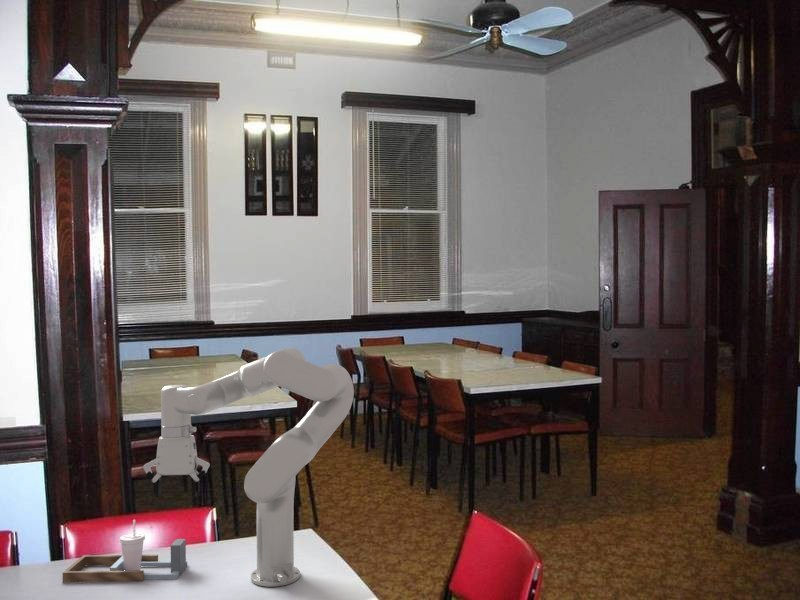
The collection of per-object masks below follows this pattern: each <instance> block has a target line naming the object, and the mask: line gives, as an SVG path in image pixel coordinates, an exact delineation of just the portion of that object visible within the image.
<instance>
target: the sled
mask: <svg viewBox="0 0 800 600" xmlns="http://www.w3.org/2000/svg"><path fill="white" fill-rule="evenodd" d="M186 540H187V539H185V538H176V539H175V540H174V541H173V542H172V543H171V544H170V560H167V561H166V560H164V561H163V560H161V561H160V560H158V561H141V566H158V567H157V568H161V567H160V566H166V567H165V568H170V572H148V573H147V572H144V580H177V579H179V577H180V576H182V574H183V573H184V572H185V570H186V569H187V566H188V561H187V554H186V553H187V547H186V546H187V542H186ZM124 570H125V568H124V561H123V556H122V557H121V558H120V559H119V560H117V561H116V562H115V563H114V564H113V565H110V567H109V571H124Z"/></svg>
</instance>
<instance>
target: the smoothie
mask: <svg viewBox="0 0 800 600" xmlns="http://www.w3.org/2000/svg"><path fill="white" fill-rule="evenodd" d="M145 539H146V535H145V534H144V533H141V532H136V519H133V520H132V532H131V533H130V532H128V533H126V534H123V535H121V536H120V537H119V543H120V546H121V552H122V554H121V555H123V561H124V568H125V571H140V570H141V568H142V567H141V558H142V555H143V549H144V541H145Z"/></svg>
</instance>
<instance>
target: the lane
mask: <svg viewBox="0 0 800 600" xmlns="http://www.w3.org/2000/svg"><path fill="white" fill-rule="evenodd" d="M122 556H123V554H108V555H107V554H95V555H91V554H85V555H84V554H83V555H82V556H81V557H79V558H78V559H77V560H76V561H74V563H72V564H70V566H69V567H67V568H66V569H65V570H64V571H62V583H120V582H121V583H127V582H131V583H132V582H135V583H136V582H138V583H139V582H142V583H143V581H145V579H144V573H145V572H144V569H143V570H141V569H140V571H110V570H83V569H84V568H85V567H86V566H85V565H106V566H112V565H113V564H114V563H115V562H116V561H117V560H119V559H120V558H121V557H122ZM141 561H159V554H142V558H141ZM84 566H85V567H84Z"/></svg>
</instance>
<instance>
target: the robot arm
mask: <svg viewBox="0 0 800 600" xmlns="http://www.w3.org/2000/svg"><path fill="white" fill-rule="evenodd" d="M278 387H279V388H283V389H284V390H287V391H289V392H291V393H295V394H296V395H299V396H302V397H304V398H306V399H309V400H312V401H315V402H316V403H315V404H313V406H312V407H310V409H309V410H308V411H307V412H306V414H305V415H304V416H303V417H302V419H301V420H300V421H299V422H298V423H297V424H296V425H295V426H294V427H293V428H291V429H290V430H288V431H286V432H284V433H283V434H281V435H279V436H278V438H276V440H274V442H272V444H271V445H270V446H268V447H267V449H266V450H265V451H264V453H263V454H262V455H261V456H260V457H259V458H258V460H257V461H256V462H255V463H254V464H253V466H252V467H250V469H249V470H248V472H247V473H246V475H245V477H244V480H243V481H244V482H243V487H244V488H243V489H244V492H245V495H246V496H247V497H248V499H250V500H251V501H253V502H254V503H256V569H255V570H253V571H252V572H251V574H250V581H251V582H252V583H253V584H255V585H256V586H261V587H270V588H273V587H275V588H276V587H283V586H287V585H290V584H292V583H294V582H296V581H298V580H299V579H300V576H301V571H300V569H299V568H297V567H296V566H295V564H294V563H295V560H294V559H295V553H294V551H295V550H294V547H295V546H294V544H295V543H294V542H295V541H294V538H295V537H294V514H295V513H294V505H295V504H294V503H295V500H294V499H295V488H296V476H297V475H298V474H299V473H300V471H301V470H302V469H303V468H305V466H306V465H308V463H310V462H311V461H312V460H314V457H315V456H316V455H317V453H318V452H319V450H320V449H321V448H322V447H323V445H324V444H325V443H326V442H327V441H328V440H329V439H330V438H331V436H332V435H333V433H334V432H336V430H337V429H338V427H339V426H340V425H341V424H342V423H343V422H344V421H345V419H346V417H347V416H348V414H349V412H350V410H351V408H352V404H353V400H354V394H355V390H354V383H353V380H352V377H351V375H350V373H349V372H348V370H347V369H346V368H345V367H343V366H341V365H339V364H337V363H336V364H335V363H329V364H325V365H321V366H319V365H316V364H315V363H311V362H309V361H307V359H306V357H305V355H304V354H303V352H301V351H300V350H299V349H296V348H293V347H287V348H283V349H279V350H275V351H273V352H272V353H270V354H269V355H266V356H264V357H261V358H259V359H257V360H253V361H251V362H249V363H246V364H244V365H242V366H241V367H240V368H239V369H238V370H236V371H234V372H232V373H229V374H228V375H225V376H223V377H221V378H217V379H216V380H215V379H214V380H212V381H210V382H207V383H203V384H199V385H195V386H192V387H189V386H188V385H186V384H169V385H165V386H163V387H162V389H161V392H160V399H161V400H160V414H161V416H160V417H161V419H160V421H161V423H160V424H161V426H160V427H161V430H160V431H161V433H160V434H161V436H159V438H158V441H157V442H158V443H157V449H156V458H154V459H152V460H150V461H149V462H147V463H145V464H144V465H142V468H143V471H144V472H145V474H146V476H147V477H148V478H149V479H150V480H151V482H152V483H153V494H154V495H155V498H159V497H160V496H162V480H161V478H162V476H188V475H189V476H190V477H191V478H192V479H193V481H192V489H191V490H192V497H195V498H196V497H197V495H198V493H200V491H201V489H200V487H201V486H200V484H201V481H200V480H201V479H202V478H203V477H204V476H205V475H206V473H207V472H208V469H209V467H210V465H211V464H210V462H208V461H206V460H203V459H201V458H199V457H198V452H197V444H196V443H197V442H196V438H195V435H192V434H193V433H196V432H197V426H193V425H192V422H191V421H192V416H193V415H194V416H201V415H205V414H207V413H210V412H213V411H215V410H217V409H220V408H223V407H225V406H228V405H231V404H233V403H235V402H238V401H240V400H242V399H246V398H248V397H249V398H252V397H255V396H259V395H260V394H263V393H265V392H268V391H270V390H273V389H275V388H278ZM191 415H192V416H191ZM153 466H155V472H156V473H155V472H154V471H153V470H152V467H153ZM198 466H201V467H202V469H201V471H200V472H198V470H197V469H198Z"/></svg>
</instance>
